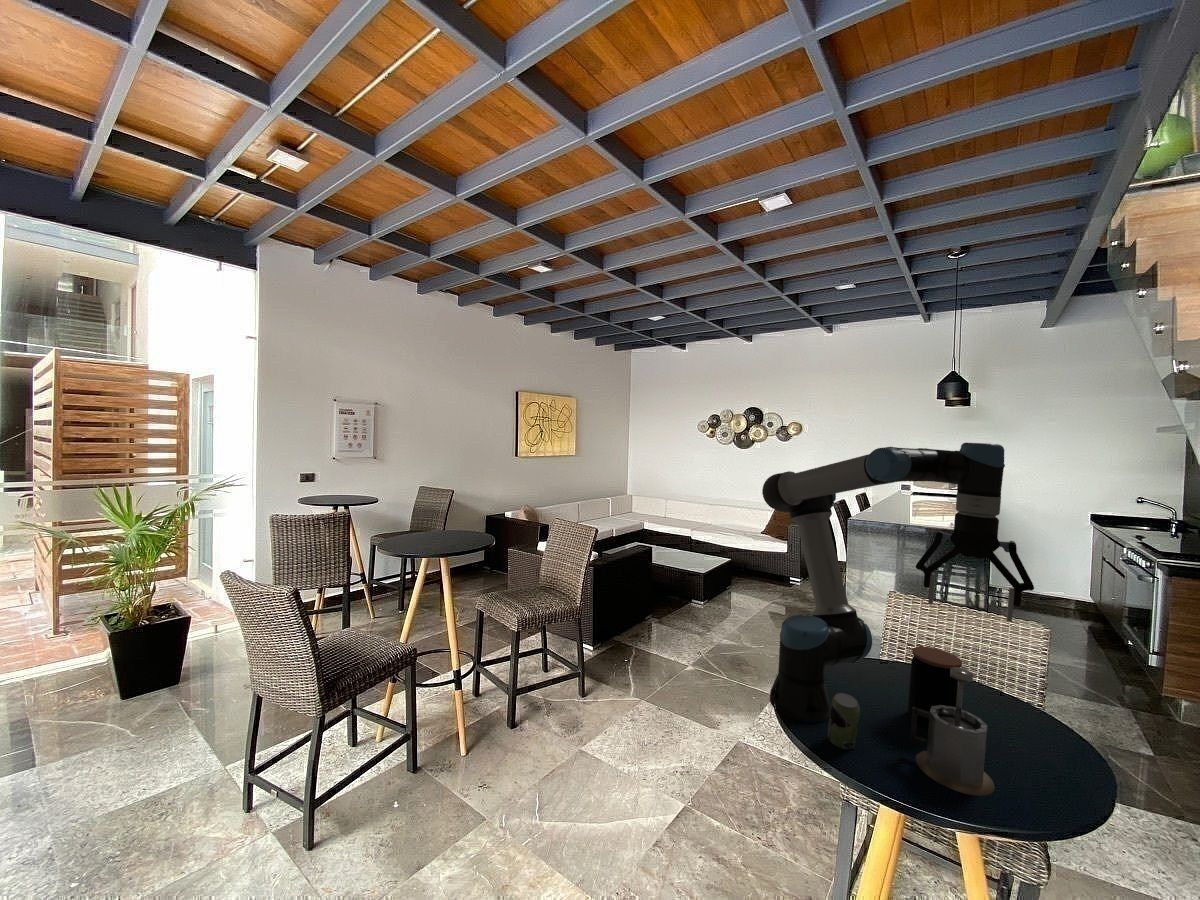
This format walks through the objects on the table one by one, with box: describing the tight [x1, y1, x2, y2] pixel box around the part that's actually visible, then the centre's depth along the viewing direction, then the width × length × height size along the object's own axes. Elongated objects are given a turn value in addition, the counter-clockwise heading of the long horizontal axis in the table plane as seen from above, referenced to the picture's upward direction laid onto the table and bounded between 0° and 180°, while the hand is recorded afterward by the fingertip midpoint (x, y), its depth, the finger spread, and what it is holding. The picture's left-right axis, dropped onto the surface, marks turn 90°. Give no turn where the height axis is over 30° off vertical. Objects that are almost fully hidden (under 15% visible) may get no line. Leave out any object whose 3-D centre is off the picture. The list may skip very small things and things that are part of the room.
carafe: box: [909, 705, 988, 789], centre depth 107 cm, size 13×10×12 cm
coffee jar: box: [907, 646, 963, 730], centre depth 125 cm, size 11×11×18 cm
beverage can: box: [827, 692, 861, 750], centre depth 114 cm, size 6×7×12 cm
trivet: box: [915, 750, 995, 797], centre depth 106 cm, size 14×14×1 cm
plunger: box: [940, 667, 976, 730], centre depth 106 cm, size 7×7×13 cm
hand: (968, 611), depth 105 cm, fingers open, 13 cm apart
